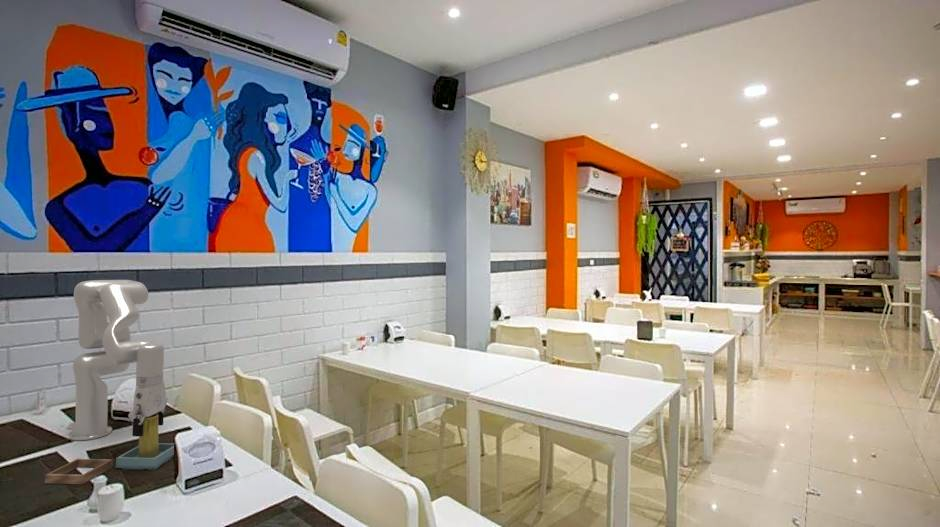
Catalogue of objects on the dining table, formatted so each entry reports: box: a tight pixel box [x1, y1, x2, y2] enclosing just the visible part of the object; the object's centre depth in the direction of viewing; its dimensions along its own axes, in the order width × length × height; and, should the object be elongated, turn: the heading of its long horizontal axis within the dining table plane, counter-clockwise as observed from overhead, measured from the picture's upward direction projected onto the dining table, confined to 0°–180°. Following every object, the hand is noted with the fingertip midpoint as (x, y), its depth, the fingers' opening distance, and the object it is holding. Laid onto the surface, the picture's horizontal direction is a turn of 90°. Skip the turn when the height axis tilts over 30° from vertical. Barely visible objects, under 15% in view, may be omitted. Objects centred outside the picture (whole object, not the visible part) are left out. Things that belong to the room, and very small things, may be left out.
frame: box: [44, 458, 114, 485], centre depth 146 cm, size 12×12×2 cm
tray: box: [115, 442, 175, 471], centre depth 157 cm, size 13×13×4 cm
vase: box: [138, 413, 160, 458], centre depth 157 cm, size 6×6×14 cm
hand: (148, 430), depth 157 cm, fingers open, 9 cm apart
